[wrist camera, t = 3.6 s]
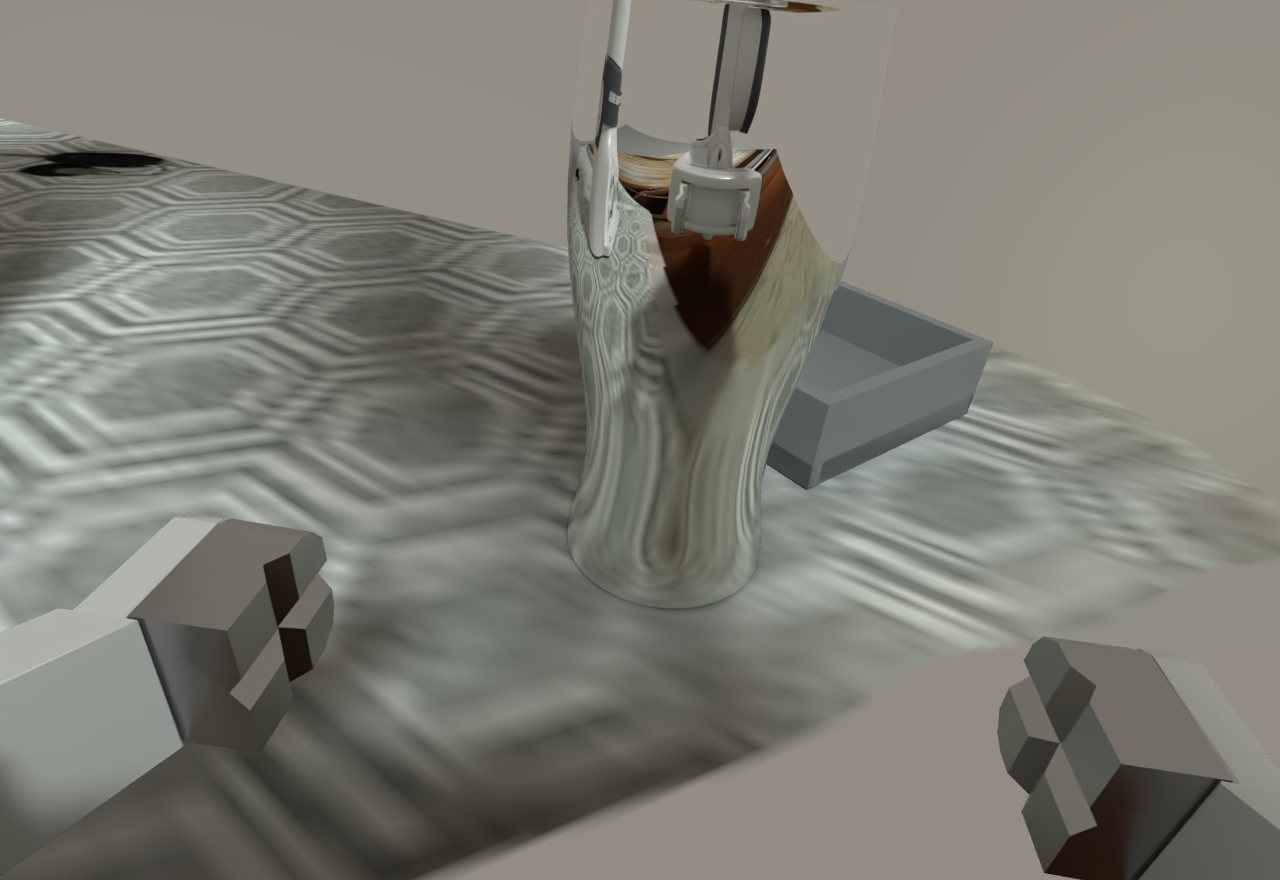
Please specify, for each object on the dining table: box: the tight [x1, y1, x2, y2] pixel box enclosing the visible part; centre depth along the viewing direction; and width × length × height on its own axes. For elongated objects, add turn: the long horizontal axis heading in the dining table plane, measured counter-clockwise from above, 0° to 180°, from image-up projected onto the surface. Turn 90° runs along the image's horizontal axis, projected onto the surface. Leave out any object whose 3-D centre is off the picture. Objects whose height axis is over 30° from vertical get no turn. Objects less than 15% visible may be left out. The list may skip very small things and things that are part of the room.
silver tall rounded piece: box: [567, 0, 899, 609], centre depth 19 cm, size 7×7×15 cm
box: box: [767, 281, 993, 489], centre depth 32 cm, size 11×11×4 cm
